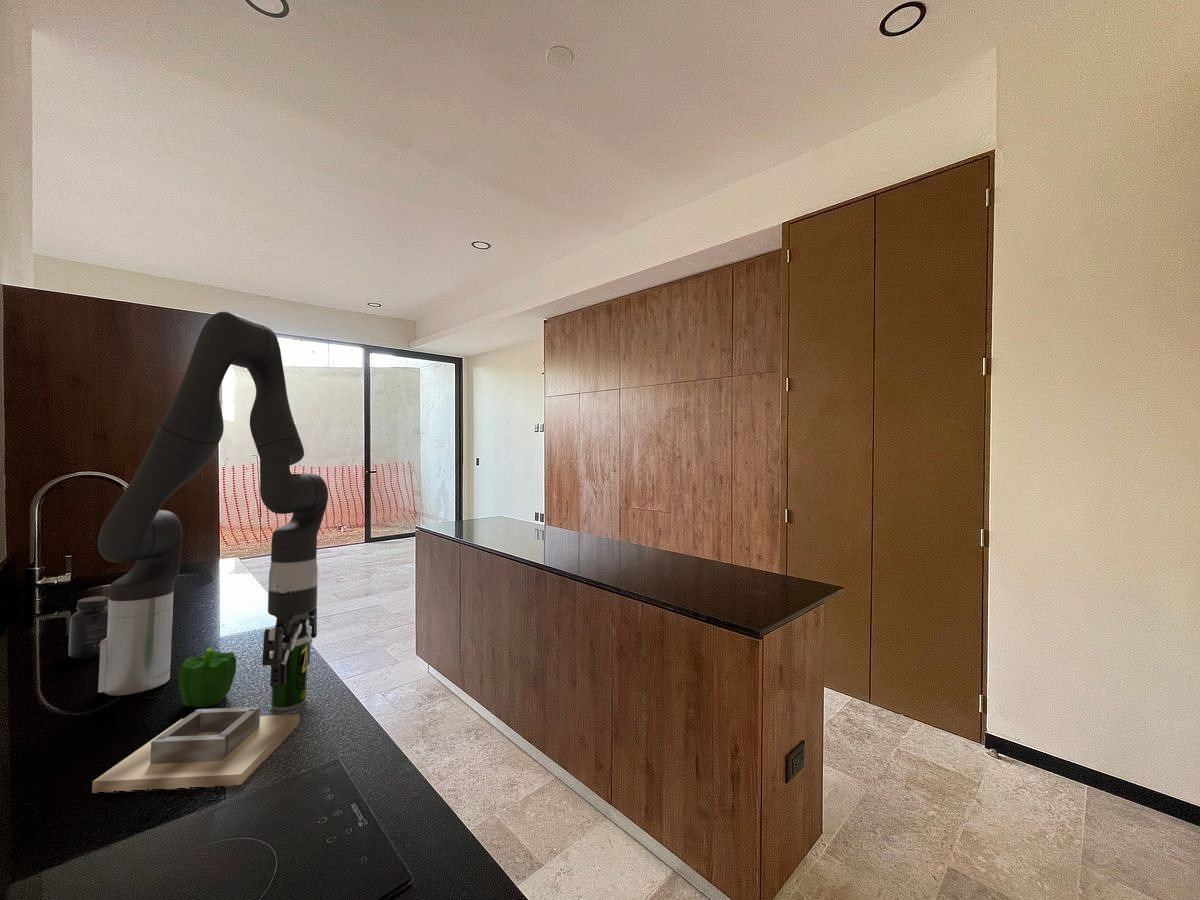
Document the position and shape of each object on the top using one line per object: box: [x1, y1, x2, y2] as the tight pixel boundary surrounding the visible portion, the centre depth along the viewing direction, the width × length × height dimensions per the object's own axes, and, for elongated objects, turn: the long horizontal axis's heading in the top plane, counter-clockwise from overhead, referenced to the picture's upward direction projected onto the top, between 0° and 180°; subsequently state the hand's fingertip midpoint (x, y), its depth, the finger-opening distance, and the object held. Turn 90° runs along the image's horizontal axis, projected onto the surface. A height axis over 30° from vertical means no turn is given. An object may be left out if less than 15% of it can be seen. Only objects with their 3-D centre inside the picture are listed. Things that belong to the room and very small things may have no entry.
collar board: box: [91, 706, 300, 794], centre depth 74 cm, size 18×16×4 cm
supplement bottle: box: [68, 595, 109, 659], centre depth 111 cm, size 7×7×12 cm
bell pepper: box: [177, 647, 237, 708], centre depth 89 cm, size 8×8×10 cm
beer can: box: [270, 633, 308, 712], centre depth 89 cm, size 5×5×12 cm
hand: (290, 675), depth 89 cm, fingers open, 8 cm apart
